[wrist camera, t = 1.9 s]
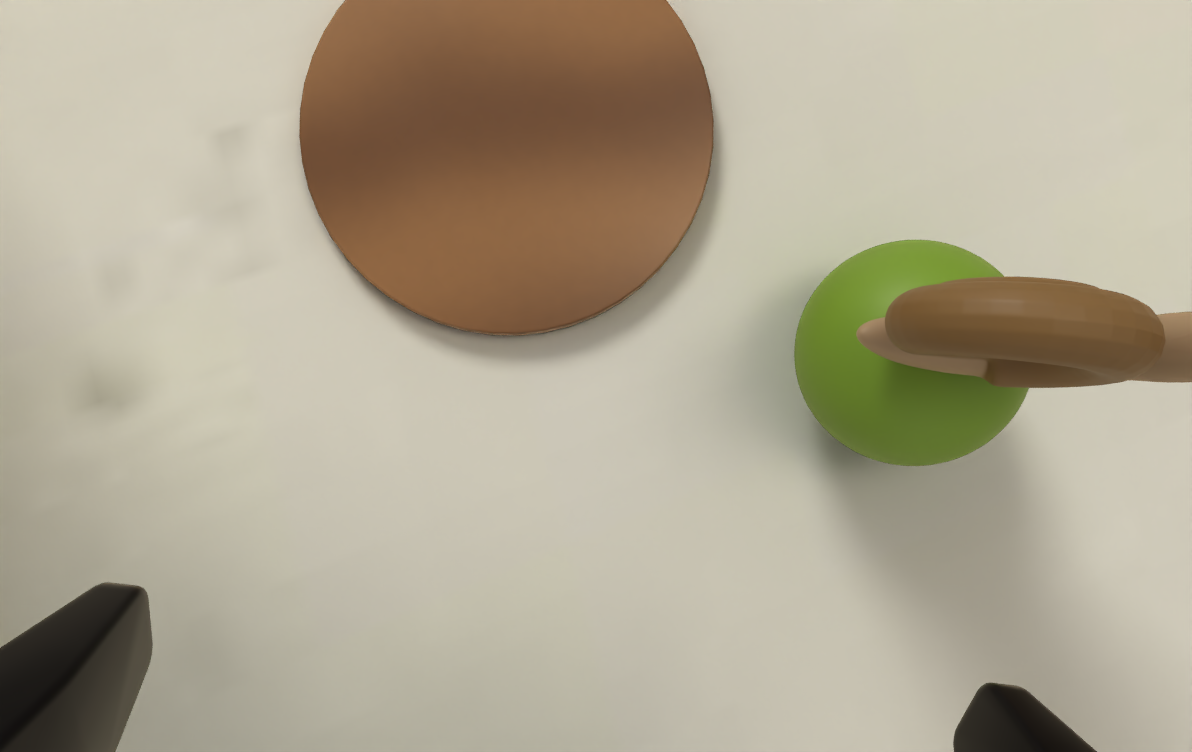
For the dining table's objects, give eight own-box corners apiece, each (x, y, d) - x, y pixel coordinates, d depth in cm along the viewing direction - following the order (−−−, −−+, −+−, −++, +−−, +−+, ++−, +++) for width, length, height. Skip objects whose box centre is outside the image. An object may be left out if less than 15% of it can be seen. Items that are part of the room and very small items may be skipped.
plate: (762, 265, 24) (767, 262, 23) (375, 388, 23) (370, 387, 23) (639, -113, 24) (641, -127, 23) (254, 1, 23) (245, -10, 23)
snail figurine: (997, 468, 24) (1439, 536, 12) (765, 450, 23) (970, 501, 11) (1009, 271, 24) (1456, 139, 12) (779, 252, 24) (994, 98, 12)
